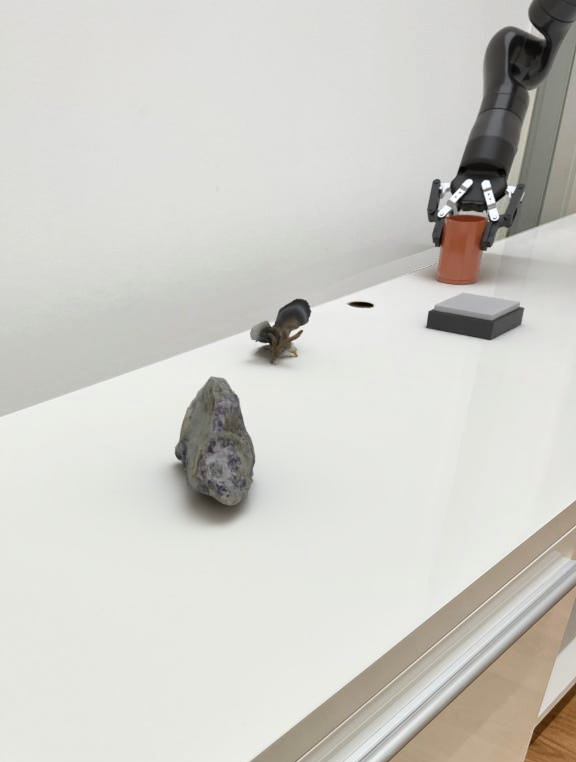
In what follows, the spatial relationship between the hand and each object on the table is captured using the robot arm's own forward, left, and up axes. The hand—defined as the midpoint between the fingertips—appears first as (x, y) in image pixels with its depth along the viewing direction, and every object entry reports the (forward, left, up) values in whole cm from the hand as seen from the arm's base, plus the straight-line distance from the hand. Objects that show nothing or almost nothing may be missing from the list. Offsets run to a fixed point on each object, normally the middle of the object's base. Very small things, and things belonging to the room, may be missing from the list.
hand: (460, 245), depth 156 cm
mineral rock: (-18, +85, -6) cm, 87 cm away
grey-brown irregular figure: (0, +47, -6) cm, 47 cm away
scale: (-13, +20, -5) cm, 25 cm away
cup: (0, -2, -5) cm, 6 cm away
